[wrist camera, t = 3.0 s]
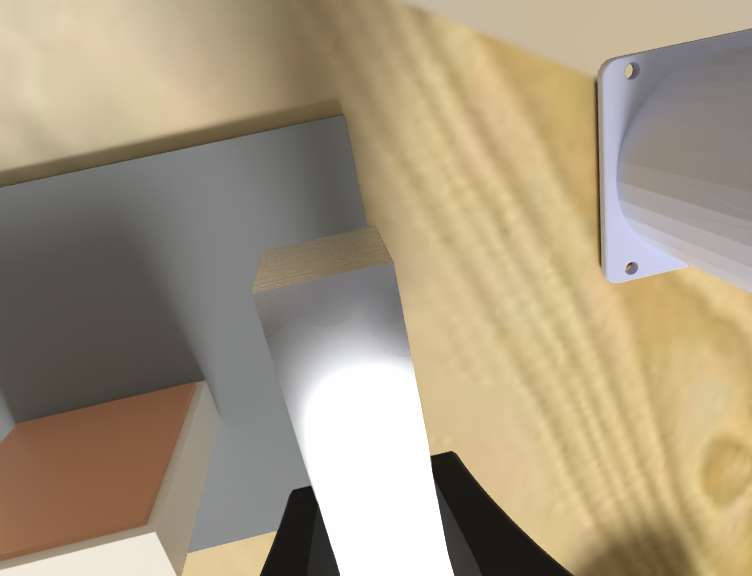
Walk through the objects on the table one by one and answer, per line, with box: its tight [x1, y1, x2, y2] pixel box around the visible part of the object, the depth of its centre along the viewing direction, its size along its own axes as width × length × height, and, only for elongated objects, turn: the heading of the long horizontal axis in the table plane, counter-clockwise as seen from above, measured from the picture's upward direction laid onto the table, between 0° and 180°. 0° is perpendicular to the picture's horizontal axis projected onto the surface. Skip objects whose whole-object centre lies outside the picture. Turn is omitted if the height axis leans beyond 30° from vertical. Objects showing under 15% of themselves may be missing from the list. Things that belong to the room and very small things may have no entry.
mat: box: [0, 115, 367, 553], centre depth 19 cm, size 16×16×1 cm
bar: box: [252, 226, 453, 576], centre depth 12 cm, size 2×12×2 cm, turn 11°
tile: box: [0, 380, 221, 576], centre depth 16 cm, size 7×2×7 cm, turn 101°
